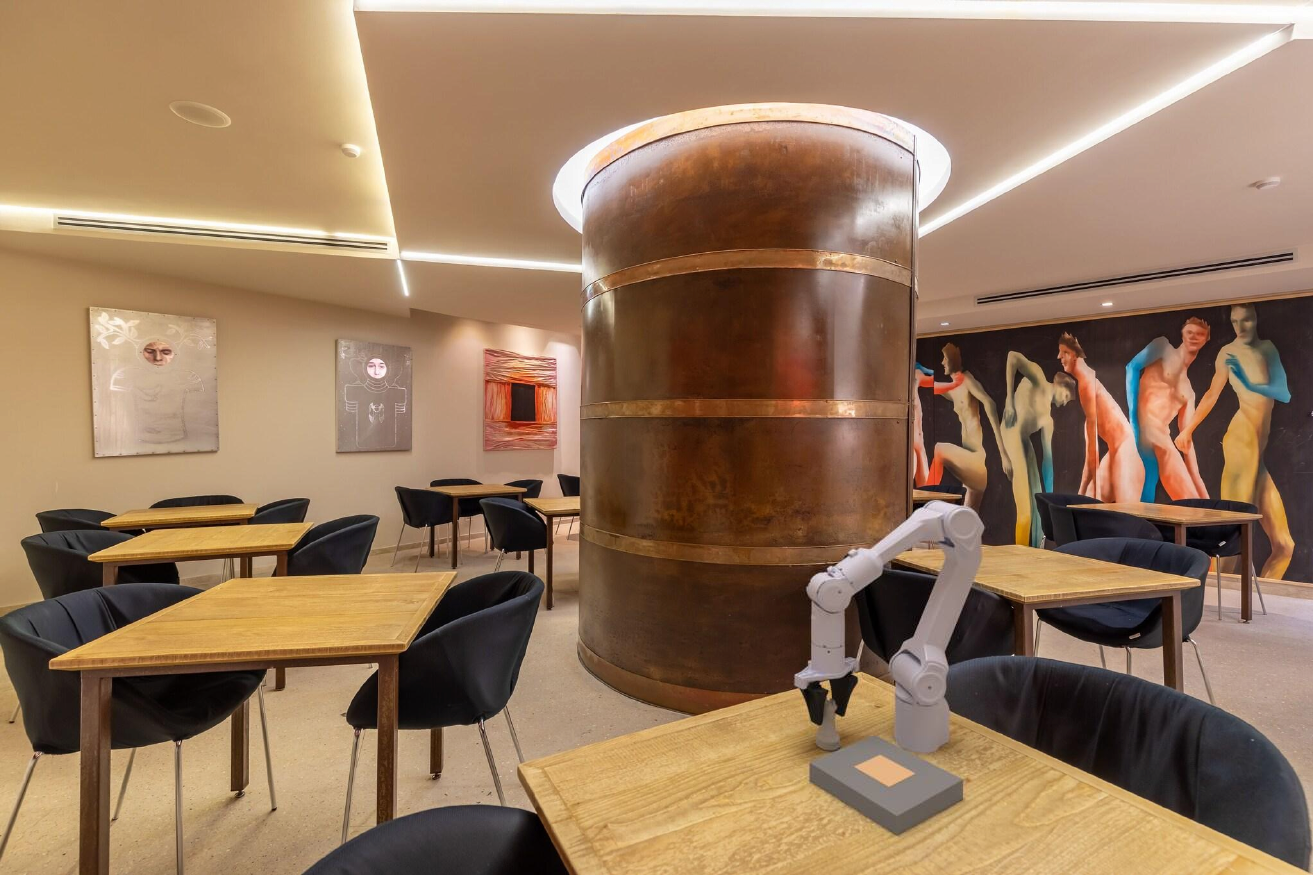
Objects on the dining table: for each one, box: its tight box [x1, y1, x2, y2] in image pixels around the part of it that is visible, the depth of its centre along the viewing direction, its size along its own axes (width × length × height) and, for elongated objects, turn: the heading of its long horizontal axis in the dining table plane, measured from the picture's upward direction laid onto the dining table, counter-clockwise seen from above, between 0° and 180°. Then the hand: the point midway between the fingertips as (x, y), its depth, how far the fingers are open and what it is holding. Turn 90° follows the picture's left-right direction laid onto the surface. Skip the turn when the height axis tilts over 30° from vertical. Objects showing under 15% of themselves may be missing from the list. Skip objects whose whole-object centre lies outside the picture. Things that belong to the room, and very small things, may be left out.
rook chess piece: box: [814, 697, 842, 752], centre depth 108 cm, size 4×4×8 cm
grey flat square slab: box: [808, 734, 964, 836], centre depth 95 cm, size 16×16×3 cm
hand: (827, 718), depth 108 cm, fingers open, 5 cm apart
